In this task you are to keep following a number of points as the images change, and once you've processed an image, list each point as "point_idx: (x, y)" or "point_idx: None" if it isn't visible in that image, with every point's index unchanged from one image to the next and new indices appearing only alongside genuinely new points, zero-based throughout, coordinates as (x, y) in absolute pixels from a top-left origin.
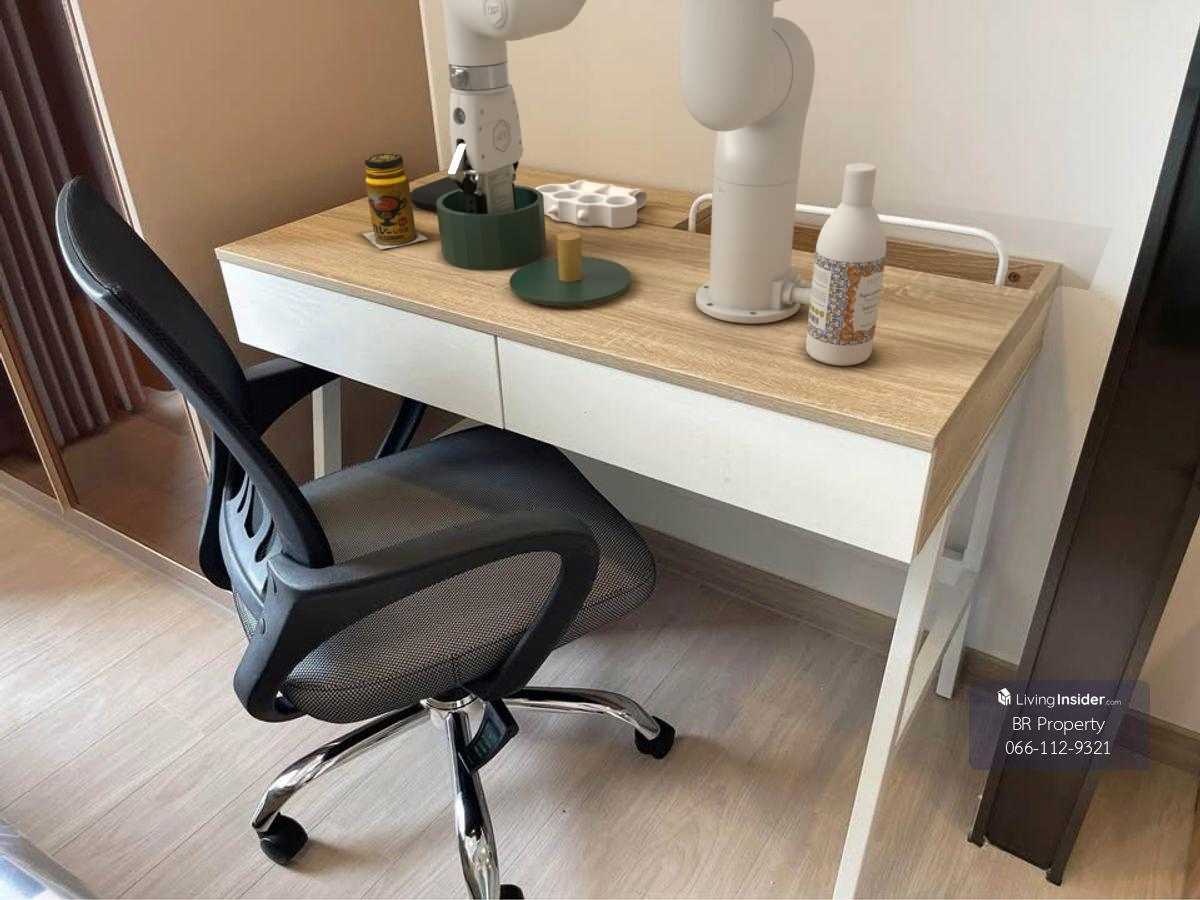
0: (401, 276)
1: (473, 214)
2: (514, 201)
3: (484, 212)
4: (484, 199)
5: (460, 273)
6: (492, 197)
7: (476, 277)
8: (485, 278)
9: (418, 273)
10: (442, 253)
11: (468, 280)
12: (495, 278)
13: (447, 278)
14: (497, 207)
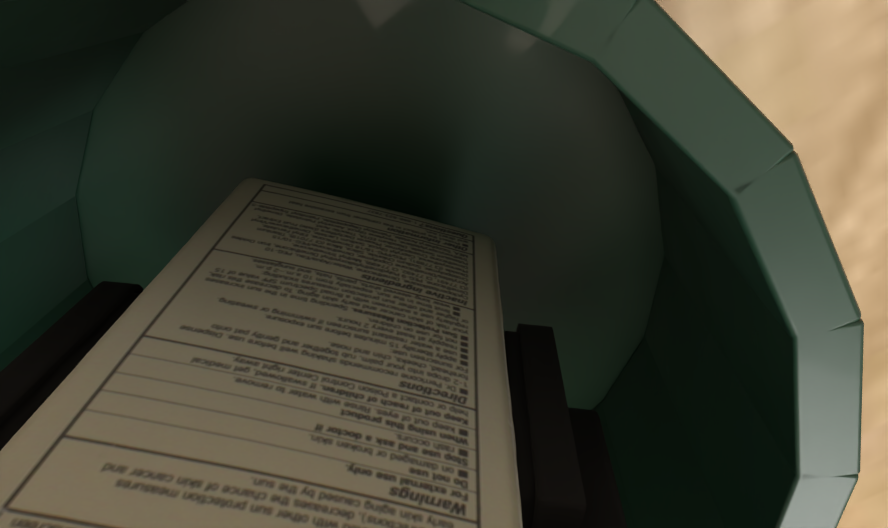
0: (865, 494)
1: (830, 401)
2: (76, 316)
3: (560, 386)
4: (569, 467)
5: None
6: (440, 432)
7: (811, 137)
8: (818, 74)
9: None
10: None
11: (870, 157)
12: (806, 9)
13: (857, 284)
14: (389, 343)
